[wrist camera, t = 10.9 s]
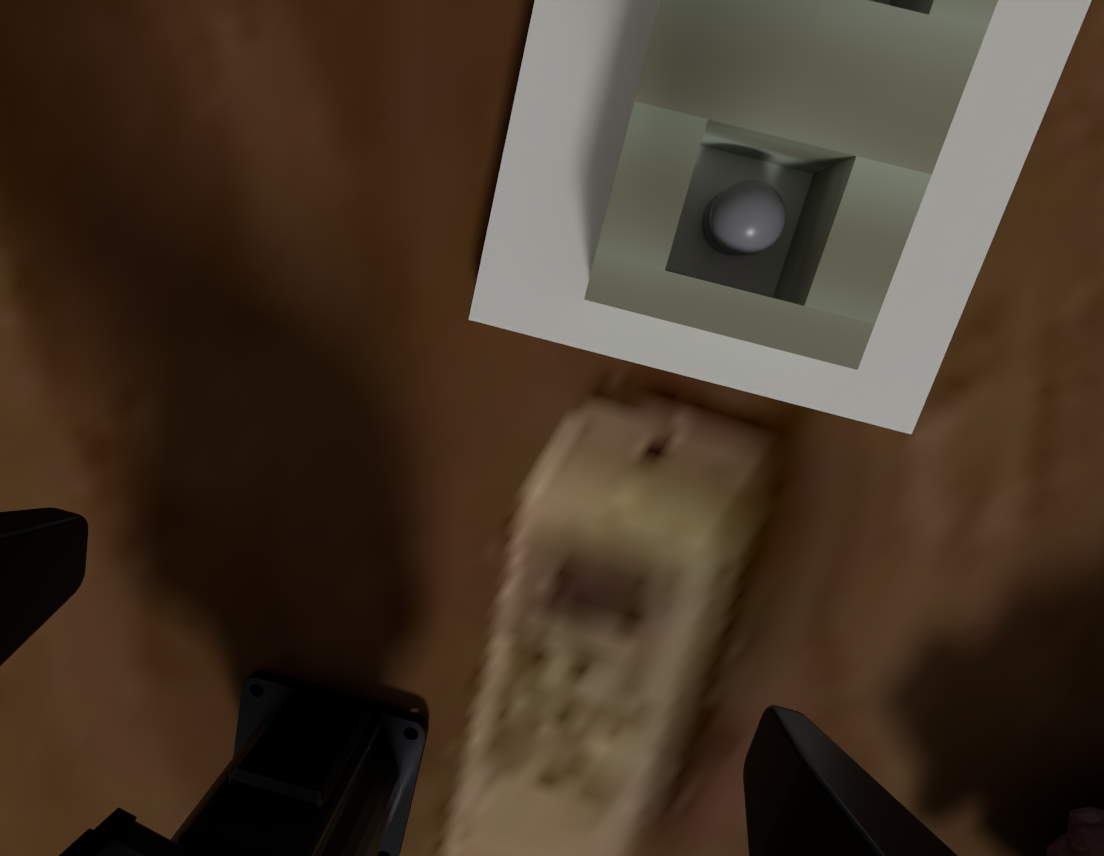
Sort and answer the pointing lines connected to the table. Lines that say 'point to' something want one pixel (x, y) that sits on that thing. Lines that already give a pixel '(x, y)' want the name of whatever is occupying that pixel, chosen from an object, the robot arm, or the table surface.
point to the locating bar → (788, 155)
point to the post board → (585, 172)
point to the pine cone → (1081, 834)
